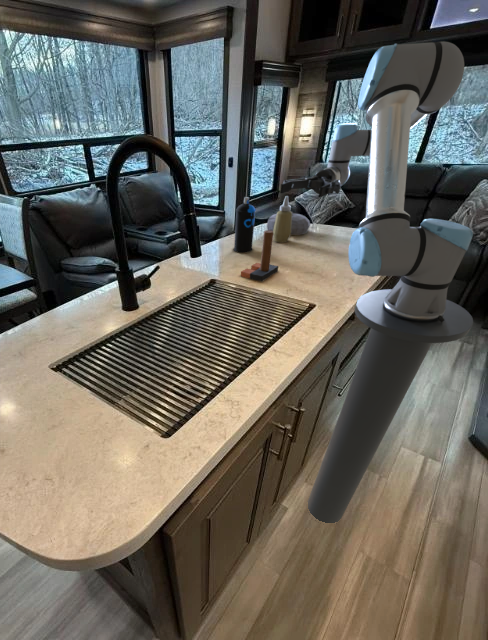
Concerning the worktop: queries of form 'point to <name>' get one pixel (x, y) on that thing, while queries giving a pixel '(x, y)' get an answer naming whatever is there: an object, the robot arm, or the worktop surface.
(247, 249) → the aerosol can
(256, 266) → the pink square block
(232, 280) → the worktop surface
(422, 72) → the robot arm
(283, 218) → the squeeze bottle
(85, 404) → the worktop surface
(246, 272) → the red square block
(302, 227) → the grey oval stone
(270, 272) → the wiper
